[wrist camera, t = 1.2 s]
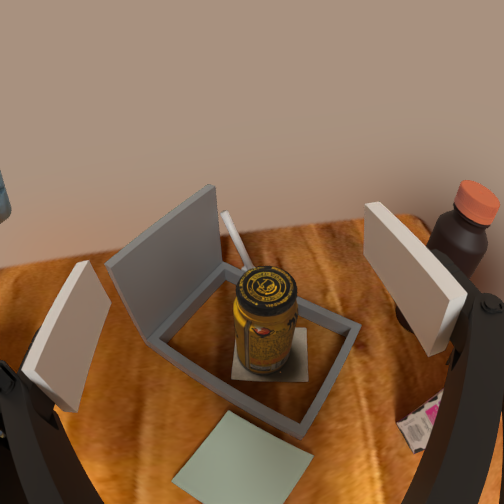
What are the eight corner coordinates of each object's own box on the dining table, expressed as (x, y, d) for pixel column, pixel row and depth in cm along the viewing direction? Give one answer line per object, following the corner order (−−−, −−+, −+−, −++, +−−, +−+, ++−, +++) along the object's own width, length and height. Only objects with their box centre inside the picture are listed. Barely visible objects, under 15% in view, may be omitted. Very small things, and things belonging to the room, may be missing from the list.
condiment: (237, 325, 36) (231, 255, 28) (306, 328, 36) (323, 259, 27) (231, 380, 31) (221, 321, 23) (308, 383, 30) (331, 325, 22)
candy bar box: (413, 457, 22) (516, 405, 11) (393, 423, 26) (482, 352, 15) (474, 405, 25) (562, 332, 14) (456, 377, 29) (534, 295, 17)
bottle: (388, 323, 36) (452, 192, 22) (401, 289, 40) (453, 167, 26) (430, 343, 33) (511, 223, 19) (439, 307, 37) (503, 192, 23)
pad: (172, 481, 22) (170, 481, 21) (228, 411, 28) (228, 410, 28) (259, 533, 18) (259, 534, 18) (313, 456, 24) (314, 455, 24)
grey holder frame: (145, 344, 34) (104, 263, 24) (223, 263, 44) (215, 179, 34) (300, 440, 25) (333, 399, 16) (360, 326, 35) (397, 244, 26)
